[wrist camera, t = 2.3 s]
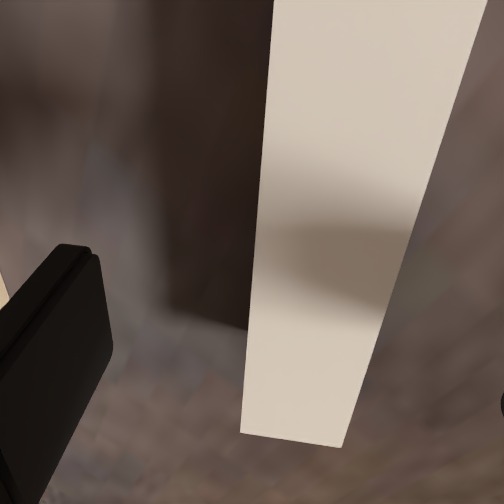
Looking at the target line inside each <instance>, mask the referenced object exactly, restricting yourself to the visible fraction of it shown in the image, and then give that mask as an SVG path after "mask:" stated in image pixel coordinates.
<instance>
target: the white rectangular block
mask: <svg viewBox="0 0 504 504" xmlns="http://www.w3.org/2000/svg"><path fill="white" fill-rule="evenodd" d="M486 3H487V0H274V9H273V22H272V35H271V47H270V60H269V73H268V85H267V98H266V111H265V124H264V136H263V149H262V162H261V175H260V187H259V200H258V213H257V226H256V238H255V251H254V264H253V277H252V289H251V302H250V315H249V328H248V340H247V353H246V366H245V378H244V391H243V404H242V417H241V429H240V433H246V434H253V435H260V436H266V437H273V438H279V439H286V440H292V441H299V442H306V443H312V444H319V445H325V446H332V447H338V448H341V447H342V444H343V441H344V437H345V434H346V431H347V428H348V425H349V422H350V419H351V416H352V413H353V410H354V407H355V404H356V401H357V398H358V395H359V392H360V389H361V385H362V382H363V379H364V376H365V373H366V370H367V367H368V364H369V361H370V358H371V355H372V352H373V349H374V346H375V343H376V340H377V336H378V333H379V330H380V327H381V324H382V321H383V318H384V315H385V312H386V309H387V306H388V303H389V300H390V297H391V294H392V291H393V287H394V284H395V281H396V278H397V275H398V272H399V269H400V266H401V263H402V260H403V257H404V254H405V251H406V248H407V245H408V242H409V238H410V235H411V232H412V229H413V226H414V223H415V220H416V217H417V214H418V211H419V208H420V205H421V202H422V199H423V196H424V193H425V190H426V186H427V183H428V180H429V177H430V174H431V171H432V168H433V165H434V162H435V159H436V156H437V153H438V150H439V147H440V144H441V141H442V137H443V134H444V131H445V128H446V125H447V122H448V119H449V116H450V113H451V110H452V107H453V104H454V101H455V98H456V95H457V92H458V88H459V85H460V82H461V79H462V76H463V73H464V70H465V67H466V64H467V61H468V58H469V55H470V52H471V49H472V46H473V43H474V40H475V36H476V33H477V30H478V27H479V24H480V21H481V18H482V15H483V12H484V9H485V6H486Z"/></svg>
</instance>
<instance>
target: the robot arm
mask: <svg viewBox="0 0 504 504" xmlns="http://www.w3.org/2000/svg"><path fill="white" fill-rule="evenodd" d="M112 352H113V340H112V334H111V327H110V321H109V315H108V309H107V303H106V297H105V291H104V285H103V278H102V272H101V266H100V260H99V257H98V256H97V255H96V254H92V252H91V250H90V248H89V247H87V246H78V245H70V244H59V245H58V246H56V247H55V249H54V250H53V251H52V252H51V253H50V254H49V255H48V257H47V258H46V259H45V260H44V261H43V262H42V263H41V265H40V266H39V267H38V268H37V269H36V270H35V271H34V273H33V274H32V275H31V276H30V277H29V278H28V279H27V281H26V282H25V283H24V284H23V285H22V286H21V287H20V289H19V290H18V291H17V292H16V293H15V294H14V295H13V297H12V298H11V299H10V300H9V301H8V302H7V303H6V305H4V306H3V307H2V308H1V309H0V504H38V503H39V501H40V499H41V497H42V495H43V493H44V491H45V489H46V487H47V485H48V483H49V481H50V479H51V477H52V475H53V473H54V471H55V469H56V467H57V465H58V463H59V461H60V459H61V457H62V455H63V453H64V451H65V449H66V447H67V445H68V443H69V441H70V439H71V437H72V435H73V433H74V431H75V429H76V427H77V425H78V423H79V421H80V419H81V417H82V415H83V413H84V411H85V409H86V407H87V405H88V403H89V401H90V399H91V397H92V395H93V393H94V391H95V389H96V387H97V385H98V383H99V381H100V379H101V377H102V375H103V373H104V371H105V369H106V367H107V365H108V363H109V361H110V359H111V356H112ZM501 410H502V414H503V416H504V393H503V395H502V398H501Z"/></svg>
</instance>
